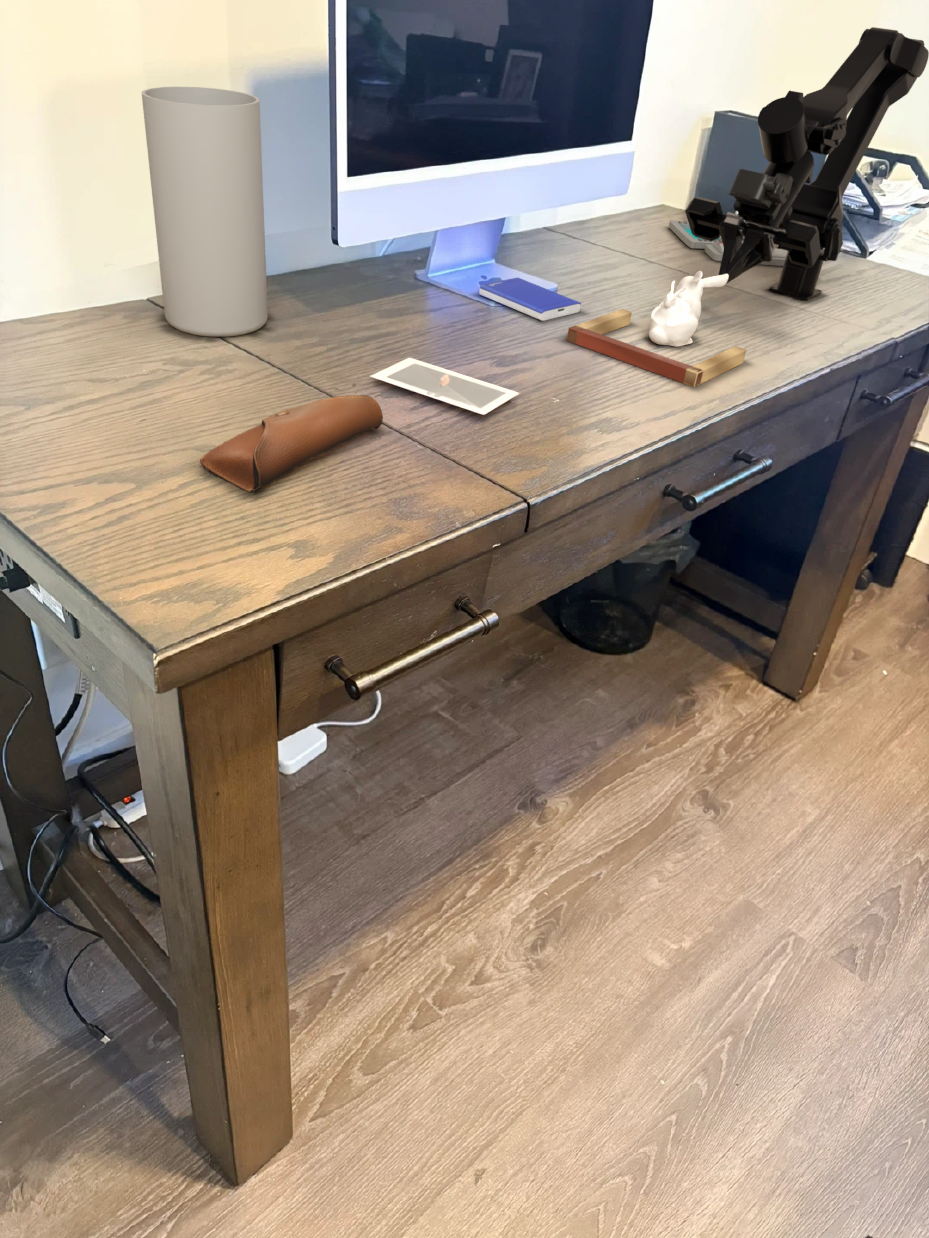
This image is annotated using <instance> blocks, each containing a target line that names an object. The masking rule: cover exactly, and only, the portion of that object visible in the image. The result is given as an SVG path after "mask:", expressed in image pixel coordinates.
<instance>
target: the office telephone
mask: <svg viewBox="0 0 929 1238" xmlns="http://www.w3.org/2000/svg"><path fill="white" fill-rule="evenodd" d="M668 228H669V229H670V230H671V231H672V232H673V233H674V234H675V236H677V237H678V238H679V239H680V240H681V241H682V242H683V243H684V244H685V245H686V246H687V247H688V248H690V249H701V250H703V249H704V252H705V254H707V255H708V257H709V258H711V260H713V261H716V262H721V261H722V256H723V251H724V247H723V243H722V239H721V235H720V237H719V238H718V239H715V240H713V241H709V240H705V239H701V238H698V237H695V236H694V235H693V234H692V233H691V229H690V226H689V223H688V221H683V220H673V219H672V220H669V223H668ZM743 241H744V240H743ZM743 241H742V244H743ZM787 252H788V251H787V250H783V249H777V248H775V250H774V252H773V253H772V260H771V261H770V262H766V261H764V262H762V263H760V264H759V265H762V266H763V265H765V266H778V267H779V266H780V267H783V266H784V262H785V259H786V255H787Z"/></svg>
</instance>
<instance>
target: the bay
mask: <svg viewBox="0 0 929 1238" xmlns="http://www.w3.org/2000/svg"><path fill="white" fill-rule="evenodd" d="M632 314H633V312H632V311H630V310H627V309H624V308H622V309H618V310H616V311H612V312H611V313H607V314H604V315H601V316H599V317H596V318H593V319H590V320H587V321H584V322H581V323H578V324H576V325H572V326H570V327H568V330H567V336H566V341H567V342H568V343H571V344H574V345H577V346H579V347H583V348H585V349H588V350H591V351H593V352H596V353H599V354H602V355H605V356H607V357H609V358H613V359H616V360H618V361H621V362H623V363H627V364H630V365H631V366H635V367H638V368H641V369H643V370H645V371H649V372H650V373H654V374H656V375H659V376H662V377H665V378H667V379H671V380H673V381H677V382H679V383H682V384H684V385H687V386H690V387H692V388H696V387H698V386H699V385H701V384H704V383H706V382H707V381H710V380H712V379H714V378H716V377H718V376H720V375H722V374H724V373H726V372H729V371H730V370H732V369H734V368H736V367H738V366H740V365H742V364H744V362H745V358H746V354H747V349H745V348H742V347H740V346H733V347H731V348H729V349H727V350H725V351H723V352H720V353H718V354H716V355H714V356H712V357H709V358H708V359H705V360H702V361H701V362H699V363H697V364H695V365H690V364H687V363H684V362H681V361H679V360H675V359H672V358H669V357H667V356H664V355H662V354H658V353H656V352H653V351H650V350H648V349H644V348H641V347H638V346H637V345H632V344H630V343H628V342H624V341H621V340H618V339H616V338H613V337H610V336H607V335H605V334H608V333H611V332H613V331H616V330H619V329H622V328H624V327H627V326H629V325H631V324H630V323H631V319H632Z"/></svg>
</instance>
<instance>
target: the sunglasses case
mask: <svg viewBox="0 0 929 1238" xmlns="http://www.w3.org/2000/svg"><path fill="white" fill-rule="evenodd" d="M383 416H384V415H383V411H382V408H381V406H380V405H379V402H378V401H376V399H374V398H373V397H372V396H370V395H366V394H357V395H356V394H352V395H351V394H349V395H338V396H332V397H328V398H323V399H318V400H314V401H311V402H308V403H304V404H302V405H299V406H295V407H290V408H287V409H283V410H281V411H279V412H277V413H275V414H272V415H270V416H268V417H267V416H266V417H264V418H262V420H261V424H259V425H257V426H255V427H252V428H250V429H247V430H245V431H244V432H241V433H239V434H237V435H235V436H234V437H232V438H230V439H228V440H226V441H224V442H223V443H221V444H219V445H217V446H216V447H214V448H212V449H211V450H209V451H208V452H207V453H205V454H204V455H203V456H202V457H201V458H199V462H200V465H201V466H202V467H203V468H205V469H206V470H208V471H209V472H211V473H212V474H214V476H217V477H218V478H220V479H222V480H224V481H225V482H227V483H229V484H232V485H233V486H235V487H237V488H239V489H242V490H243V491H245V492H247V493H252V492H253V493H254V492H257V490H258V489H259V488H261V487H266V486H268V485H269V484H271V483H273V482H274V481H277V480H278V479H280V478H281V477H283V476H284V475H286V474H288V473H290V472H291V471H293V470H294V469H295V468H297V467H300V466H301V465H303V464H305V463H306V462H308V461H309V460H310V459H312V458H316V457H318V456H320V455H322V454H324V453H326V452H328V451H330V450H332V449H334V448H336V447H337V446H339V445H341V444H344V443H346V442H349V441H351V440H353V439H354V438H356V437H358V436H360V435H362V434H364V433H367V432H369V431H371V430H373V429H377V430H378V429H379V428H380V427H381V426H382V425H383V419H384V417H383Z"/></svg>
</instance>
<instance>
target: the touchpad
mask: <svg viewBox="0 0 929 1238" xmlns="http://www.w3.org/2000/svg"><path fill="white" fill-rule="evenodd" d="M369 377H370V378H373V379H376V380H379V381H382V382H385V383H388V384H391V385H394V386H396V387H400V388H403V389H406V390H408V391H411V392H415V393H417V394H420V395H424V396H426V397H429V398H432V399H435V400H438V401H441V402H444V403H447V404H450V405H453V406H455V407H459V408H462V409H464V410H467V411H471V412H473V413H476V414H479V415H483V416H485V415H486V414H488V413H490V412H491V411H493V410H494V409H496V408H498V407H500V406H502V405H503V404H504V403H506V402H508V401H510V400H511V399H512V398H515V397H516V396H518V395H520V392H518V391H515V390H513V389H509V388H505V387H503V386H500V385H497V384H493V383H490V382H487V381H485V380H484V381H483V380H481V379H477V378H476V377H475V378H474V377H471V376H469V375H465V374H462V373H459V372H456V371H453V370H449V369H447V368H443V367H441V366H439V365H438V366H437V365H434V364H431V363H428V362H425V361H421V360H419V359H416V358H412V357H407V358H406V359H403V360H401V361H399V362H397V363H395V364H393V365H390V366H389V367H386V368H384V369H381V370H380V371H378V372H375V373H374V374H371V375H369Z"/></svg>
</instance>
